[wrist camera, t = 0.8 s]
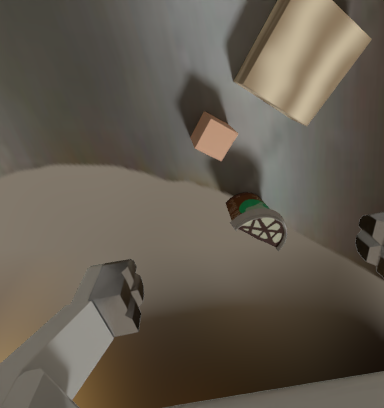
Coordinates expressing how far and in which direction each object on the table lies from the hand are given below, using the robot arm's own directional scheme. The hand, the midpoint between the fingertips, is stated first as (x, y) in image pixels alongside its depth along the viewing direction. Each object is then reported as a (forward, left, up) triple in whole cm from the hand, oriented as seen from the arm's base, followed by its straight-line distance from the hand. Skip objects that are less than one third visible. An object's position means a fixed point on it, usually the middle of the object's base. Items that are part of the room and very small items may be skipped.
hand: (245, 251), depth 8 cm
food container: (+23, -11, -35) cm, 43 cm away
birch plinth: (+13, +13, -34) cm, 39 cm away
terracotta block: (+7, -2, -34) cm, 35 cm away
